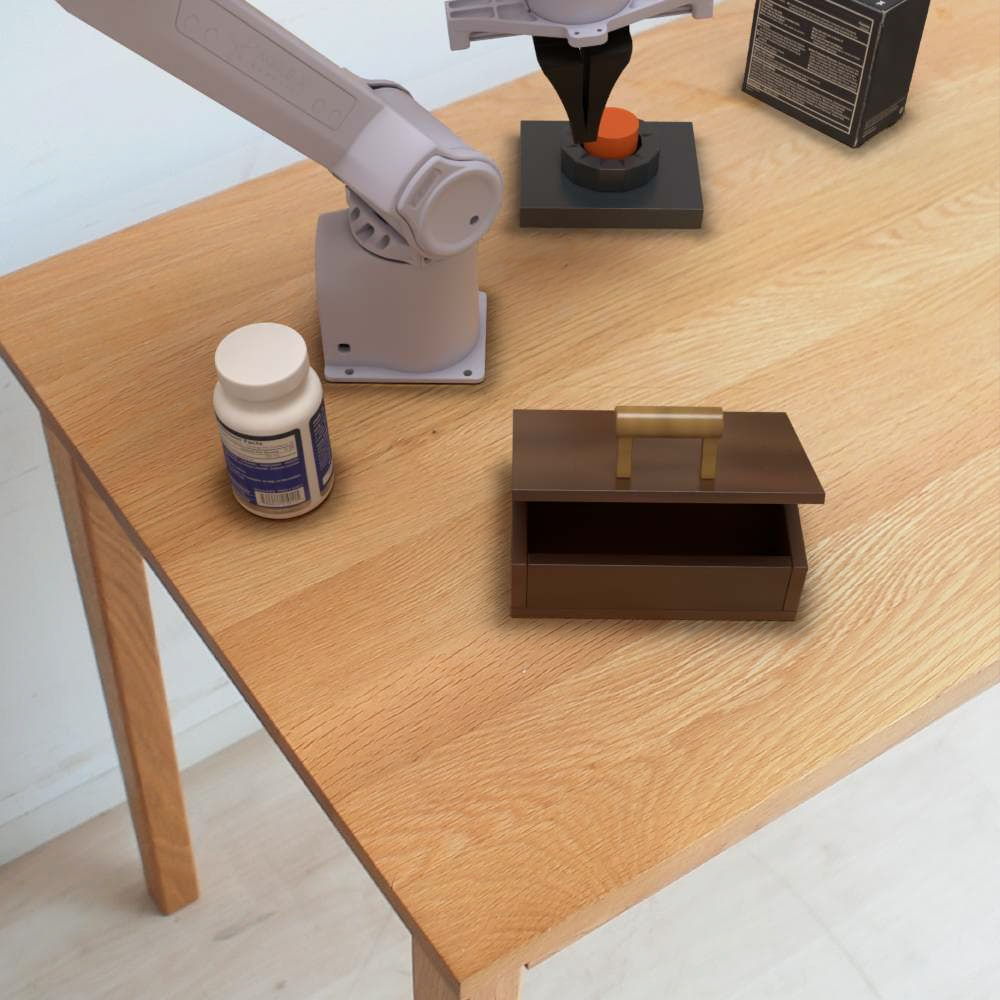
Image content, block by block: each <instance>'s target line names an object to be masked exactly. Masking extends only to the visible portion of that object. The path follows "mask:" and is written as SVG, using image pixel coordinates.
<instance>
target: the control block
mask: <svg viewBox="0 0 1000 1000" xmlns="http://www.w3.org/2000/svg"><path fill="white" fill-rule="evenodd" d="M638 121H639V132H638V144H637V149H636V151H635V152H634V153H633V154H632V155H631V156H629V157H626V158H623V159H602V158H599V157H596V156H593V155H590V154H589V153H588V152H587V151H586V150H585V148H584V145H583V143H581V144H574V142H573V138H572V133H571V129H570V124H569V120H543V119H542V120H541V119H538V120H537V119H536V120H535V119H534V120H532V119H531V120H529V119H528V120H527V119H526V120H525V119H521V120H520V122H519V125H520V127H519V136H520V137H519V224H518V225H519V228H527V229H528V228H533V229H535V228H537V229H538V228H539V229H541V228H542V229H543V228H545V229H546V228H547V229H635V230H637V229H640V230H642V229H644V230H645V229H647V230H649V229H650V230H702V226H703V219H704V211H705V208H704V201H703V200H704V199H703V193H702V185H701V178H700V177H701V176H700V170H699V169H700V168H699V163H698V154H697V146H696V139H695V132H694V131H695V130H694V123H693V121H657V120H656V121H653V120H651V121H648V120H647V121H645V120H644V119H641V118H638Z"/></svg>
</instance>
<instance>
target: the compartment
mask: <svg viewBox="0 0 1000 1000" xmlns="http://www.w3.org/2000/svg"><path fill="white" fill-rule="evenodd" d="M800 515H801V514H800V508H799V504H753V503H662V502H571V501H512V500H511V536H510V537H511V539H510V540H511V541H510V545H511V546H510V548H511V549H510V554H511V555H510V617H511V618H541V619H542V618H544V619H545V618H547V619H548V618H549V619H550V618H551V619H553V618H554V619H555V618H556V619H569V618H570V619H631V620H632V619H634V620H636V619H638V620H639V619H642V620H713V621H714V620H716V621H717V620H719V621H723V620H725V621H729V620H730V621H795V620H796V618H797V614H798V610H799V607H800V603H801V598H802V594H803V591H804V587H805V582H806V579H807V574H808V571H809V564H808V558H807V551H806V545H805V540H804V534H803V528H802V522H801V516H800Z"/></svg>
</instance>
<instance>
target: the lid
mask: <svg viewBox="0 0 1000 1000" xmlns="http://www.w3.org/2000/svg"><path fill="white" fill-rule="evenodd" d="M511 452H512V453H511V459H512V460H511V502H512V501H571V502H662V503H753V504H798V505H825V503H826V495H827V494H826V491H825V489H824V487H823V485H822V483H821V480H820V479H819V477H818V475H817V473H816V471H815V469H814V466H813V464H812V463H811V460H810V458H809V456H808V454H807V452H806V450H805V448H804V446H803V444H802V442H801V440H800V438H799V436H798V434H797V432H796V430H795V428H794V425H793V423H792V421H791V419H790V418H789V416H788V413H787V412H786V411H726V410H725V411H724V409H723V407H722V406H697V405H696V406H695V405H694V406H691V405H690V406H686V405H684V406H683V405H615V406H614V410H611V409H527V408H525V409H522V408H521V409H519V408H517V409H516V408H514V409H512V451H511Z"/></svg>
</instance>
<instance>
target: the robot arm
mask: <svg viewBox="0 0 1000 1000" xmlns="http://www.w3.org/2000/svg"><path fill="white" fill-rule="evenodd" d="M54 1H55V3H57V4H58V5H59V6H60V7H61V8H62V9H63V10H64V11H65V12H66V13H68V14H70V15H71V16H73V17H75V18H77V19H78V20H80V21H82V22H83V23H85V24H86V25H88V26H90V27H91V28H93V29H95V30H96V31H98V32H100V33H101V34H102V35H105V36H106V37H108V38H110V39H112V40H113V41H115V42H116V43H118V44H119V45H120V46H123V47H125V48H126V49H128V50H129V51H131V52H133V54H136V55H138V56H139V57H141V58H143V59H144V60H146V61H148V62H150V64H153V65H154V66H156V67H158V68H159V69H161V70H163V71H164V72H166V73H168V74H169V75H171V76H172V77H174V78H176V79H177V80H179V81H181V82H182V83H184V84H185V85H188V86H189V87H191V88H192V89H194V90H196V91H197V92H199V93H201V94H202V95H204V96H206V97H207V98H209V99H210V100H212V101H214V102H216V103H217V104H218V105H221V106H222V107H223V108H224V107H225V108H226V109H228V110H229V111H231V112H232V113H233V114H235V115H237V116H239V117H240V118H242V119H244V120H245V121H247V122H248V123H250V124H252V125H253V126H256V127H257V128H259V129H260V130H262V131H263V132H265V133H267V134H269V135H270V136H272V137H274V138H275V139H277V140H278V141H280V142H282V143H283V144H285V145H287V146H288V147H290V148H292V149H294V150H295V151H296V152H298V153H300V154H302V155H303V156H305V157H307V158H308V159H310V160H311V161H313V162H315V163H317V164H319V165H320V166H322V167H323V168H325V169H326V170H327V171H328V173H329V174H331V175H332V176H333V178H335V179H336V180H338V181H340V182H341V183H343V184H345V185H344V190H345V201H346V204H347V206H348V207H347V208H342V209H337V210H332V211H327V212H326V211H325V212H321V213H320V214H319V215H318V219H317V222H316V229H315V239H314V240H315V241H314V279H315V293H316V294H315V295H316V302H317V309H318V311H317V312H318V318H319V319H318V320H319V326H320V327H319V328H320V335H321V341H322V343H321V344H322V351H323V359H324V371H323V374H324V379H325V380H326V381H328V382H330V383H405V384H407V383H415V384H416V383H417V384H419V383H421V384H423V383H424V384H480V383H482V382H483V381H484V380H485V378H486V377H485V375H486V372H485V371H486V342H487V341H486V340H487V314H488V313H487V312H488V309H487V307H488V295H487V293H486V292H484V291H483V290H480V289H479V288H480V287H479V283H480V281H479V243H480V242H481V241H482V240H483V239H484V237H485V235H486V234H487V233H488V232H489V230H490V229H491V228H492V226H493V225H494V223H495V222H496V219H497V217H498V216H499V213H500V210H501V208H502V205H503V202H504V201H503V200H504V197H505V179H504V175H503V172H502V170H501V169H500V166H499V165H498V164H497V162H496V161H495V160H494V159H493V158H491V157H490V156H488V155H487V154H484V152H481V151H479V150H476V149H475V148H474V147H473V146H472V145H471V144H470V143H468V142H467V141H465V139H463V138H462V137H460V136H459V135H458V134H457V133H456V132H455V131H453V130H452V129H451V128H450V127H448V125H446V124H445V123H444V122H443V121H441V120H440V119H439V118H437V116H435V115H434V114H433V113H431V112H430V111H429V110H428V109H427V108H425V107H424V106H423V105H421V103H419V102H418V101H417V100H415V98H414V97H413V95H412V93H411V92H410V91H409V90H408V89H407V88H406V87H404V86H403V85H401V83H398V82H395V81H394V80H389V79H369V78H364V77H361V76H359V75H357V74H355V73H354V72H353V71H351V70H350V69H348V68H347V67H345V66H343V67H341V66H340V65H338V64H337V63H335V62H334V61H333V60H331V59H329V58H328V57H327V56H325V55H324V54H322V53H321V52H319V50H317V49H315V48H314V47H312V46H311V45H310V44H308V43H307V42H305V41H304V40H302V39H301V38H300V37H298V36H297V35H295V34H293V32H291V31H290V30H288V29H287V28H285V27H284V26H282V25H281V24H280V23H278V22H277V21H275V20H274V19H273V18H271V17H270V16H268V15H267V14H265V13H264V12H262V11H261V10H259V9H258V8H257V7H255V6H254V5H253V4H251V3H250V2H248V1H247V0H54ZM444 10H445V18H446V28H447V35H448V42H449V48H450V51H452V52H456V51H462V50H464V51H465V50H468V49H470V47H471V42H472V43H473V42H479V41H487V40H494V39H502V38H510V37H518V36H531V39H532V43H533V48H534V52H535V57H536V61H537V63H538V66H539V68H540V69H541V71H542V73H543V75H544V76H545V78H546V79H547V80H548V82H549V83H550V84H551V86H552V88H553V90H555V93H556V94H557V96H558V98H559V100H560V102H561V103H562V106H563V108H564V110H565V113H566V116H567V119H568V121H569V124H570V129H571V133H572V138H573V142H574V144H581V143H589V142H596V141H597V139H598V131H599V126H600V122H601V119H602V115H603V112H604V109H605V107H607V103H608V101H609V98H610V96H611V93H612V91H613V89H614V87H615V85H616V83H617V81H618V80H619V78H620V76H621V75H622V73H623V71H624V70H625V69H626V68H627V66H628V65H629V64H630V62H631V58H632V55H633V48H634V46H633V37H632V34H631V31H630V30H631V29H630V26H631V25H633V24H636V23H638V22H640V21H644V20H651V19H657V18H658V19H659V18H666V17H673V16H674V17H675V16H680V15H688V14H689V15H691V17H692V18H693V19H694V20H705V19H711V18H713V17H714V0H445V1H444Z"/></svg>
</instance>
